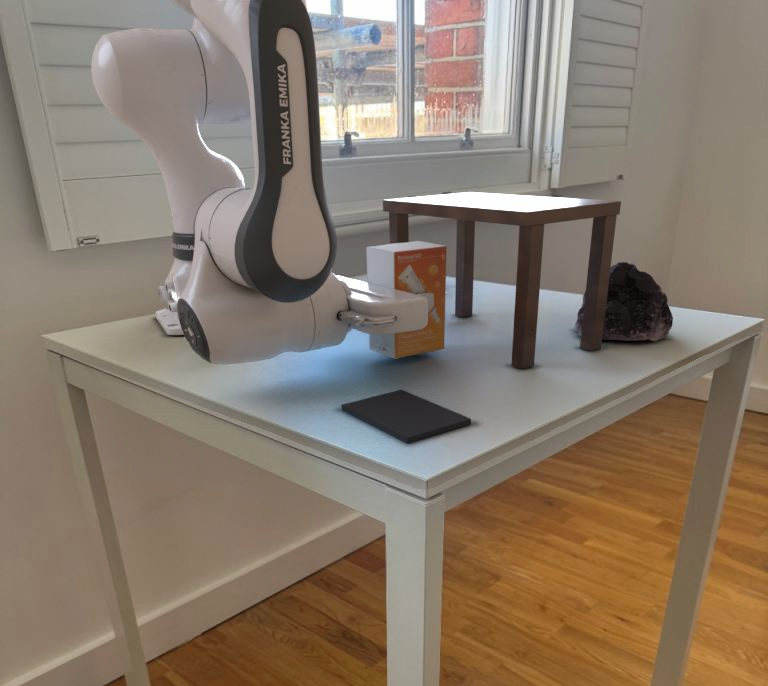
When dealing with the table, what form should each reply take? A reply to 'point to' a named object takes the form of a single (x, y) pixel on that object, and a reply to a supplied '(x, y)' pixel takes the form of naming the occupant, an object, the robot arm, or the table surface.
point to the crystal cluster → (633, 306)
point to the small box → (410, 274)
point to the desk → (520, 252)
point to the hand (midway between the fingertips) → (411, 294)
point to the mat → (405, 415)
